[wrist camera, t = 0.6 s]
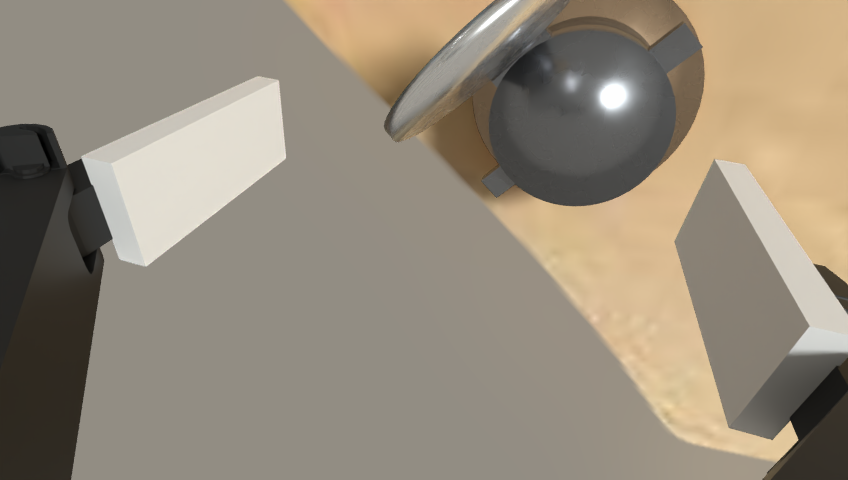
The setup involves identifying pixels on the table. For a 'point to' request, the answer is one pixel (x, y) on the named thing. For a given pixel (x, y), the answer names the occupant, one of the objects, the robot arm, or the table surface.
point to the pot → (593, 102)
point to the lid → (470, 62)
